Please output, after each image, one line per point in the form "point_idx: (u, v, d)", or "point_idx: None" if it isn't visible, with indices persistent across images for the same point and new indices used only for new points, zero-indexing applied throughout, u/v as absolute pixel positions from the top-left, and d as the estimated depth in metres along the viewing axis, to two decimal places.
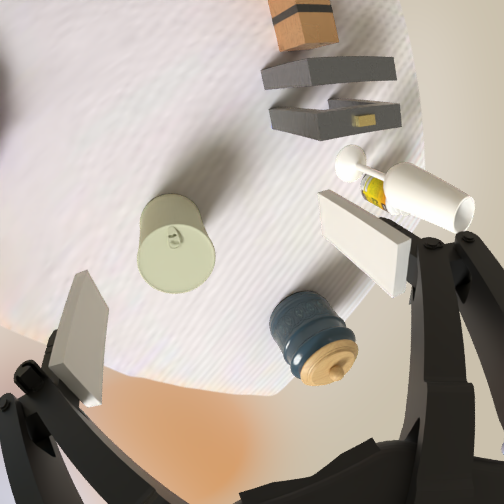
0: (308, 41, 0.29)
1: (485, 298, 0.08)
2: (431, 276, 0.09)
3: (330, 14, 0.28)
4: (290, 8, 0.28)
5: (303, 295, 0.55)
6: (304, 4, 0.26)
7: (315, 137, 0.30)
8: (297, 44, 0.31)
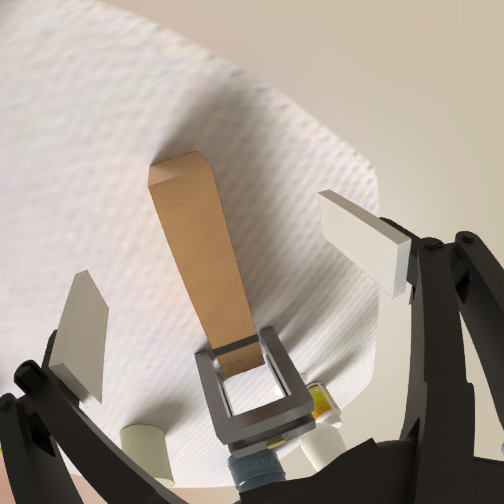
0: (229, 375, 0.34)
1: (485, 298, 0.08)
2: (431, 276, 0.09)
3: (255, 343, 0.32)
4: None
5: None
6: (223, 346, 0.31)
7: None
8: None
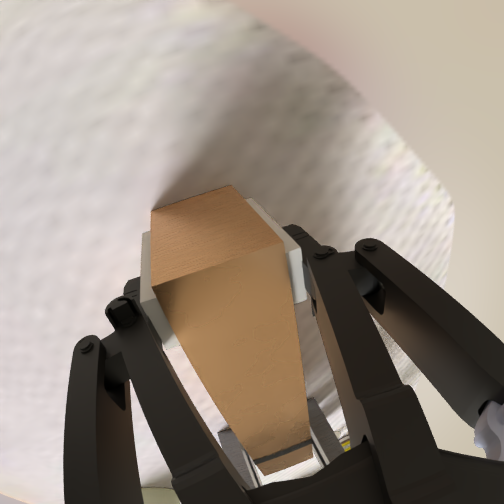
0: (269, 473, 0.22)
1: (407, 307, 0.08)
2: (330, 287, 0.10)
3: (307, 445, 0.21)
4: None
5: None
6: (266, 456, 0.20)
7: None
8: None
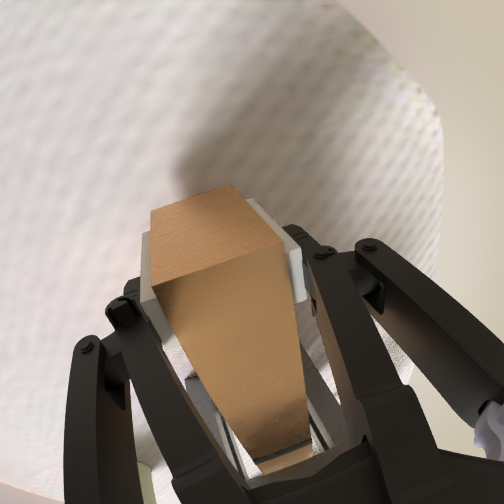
0: None
1: (407, 307, 0.08)
2: (330, 287, 0.10)
3: (307, 445, 0.21)
4: None
5: None
6: (266, 456, 0.20)
7: None
8: None
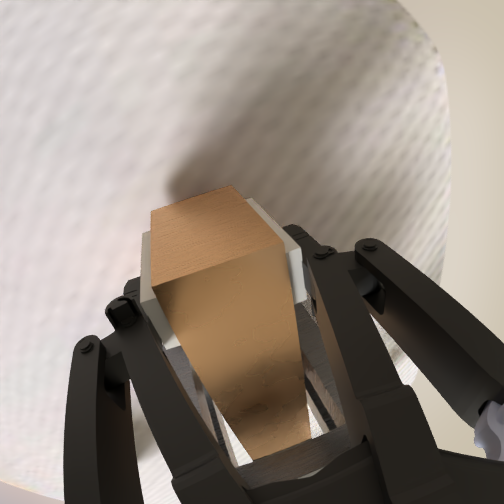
0: None
1: (407, 307, 0.08)
2: (330, 287, 0.10)
3: None
4: None
5: None
6: (266, 456, 0.20)
7: None
8: None
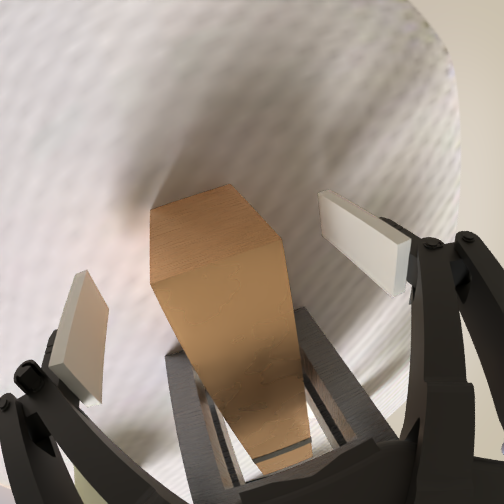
0: (268, 473, 0.23)
1: (485, 298, 0.08)
2: (431, 276, 0.09)
3: (306, 444, 0.21)
4: None
5: None
6: (266, 455, 0.20)
7: None
8: None
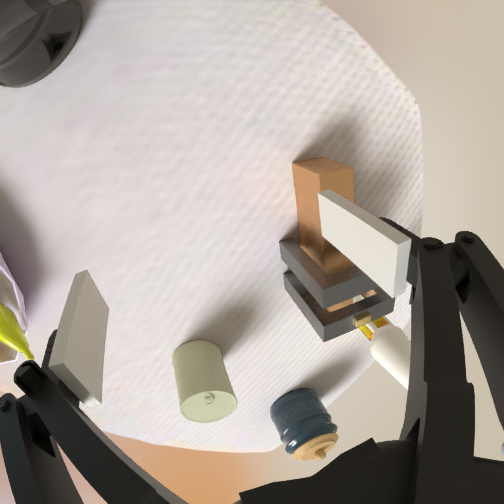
0: None
1: (485, 298, 0.08)
2: (431, 276, 0.09)
3: None
4: None
5: (299, 394, 0.64)
6: None
7: (320, 336, 0.39)
8: None
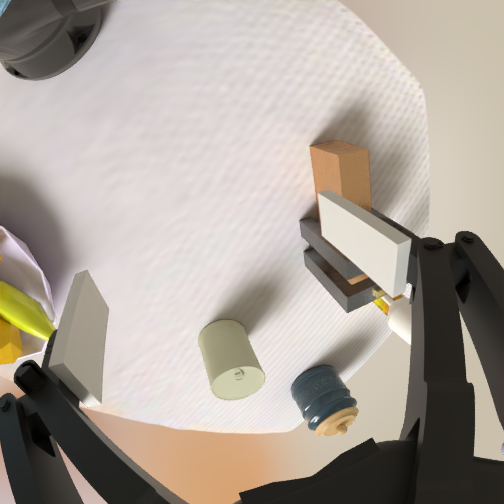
0: None
1: (485, 298, 0.08)
2: (431, 276, 0.09)
3: None
4: None
5: (318, 370, 0.67)
6: None
7: (343, 307, 0.42)
8: None
